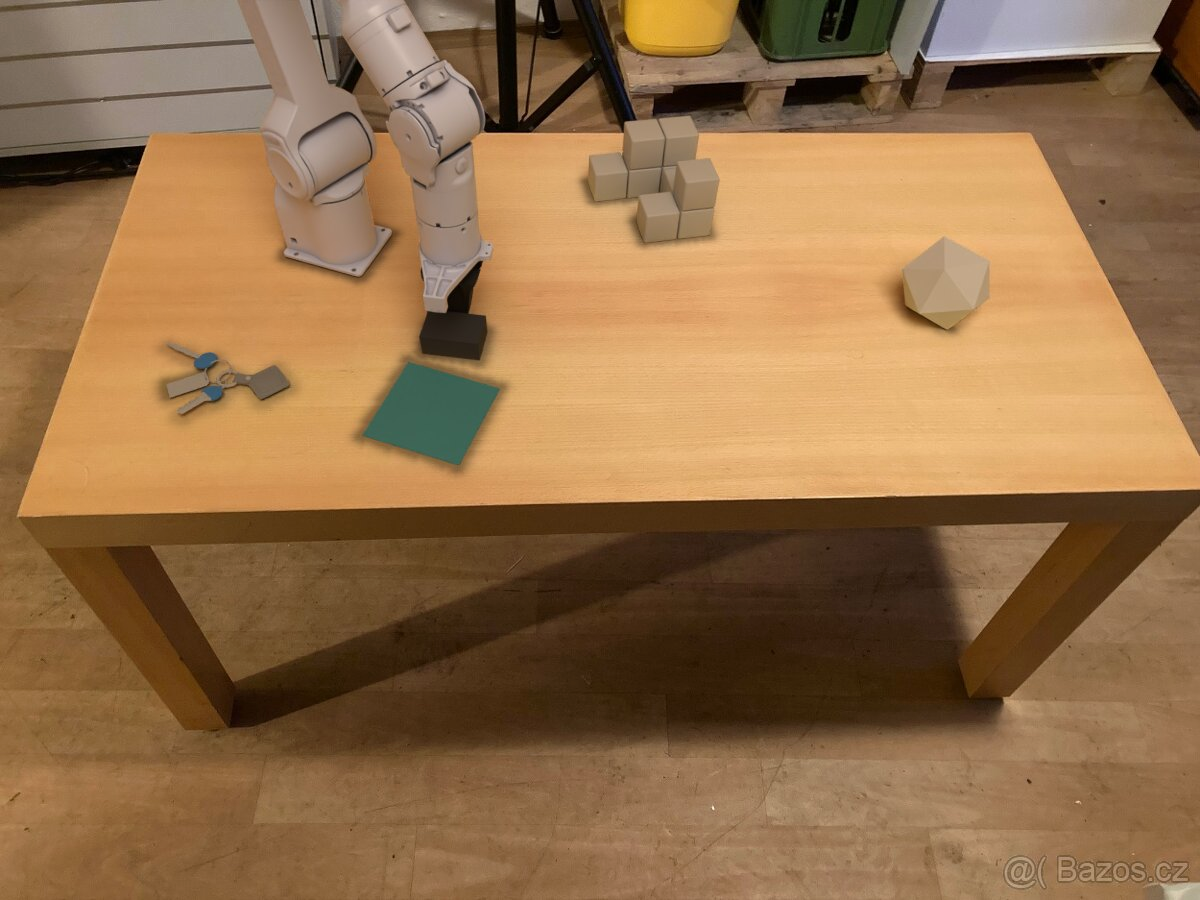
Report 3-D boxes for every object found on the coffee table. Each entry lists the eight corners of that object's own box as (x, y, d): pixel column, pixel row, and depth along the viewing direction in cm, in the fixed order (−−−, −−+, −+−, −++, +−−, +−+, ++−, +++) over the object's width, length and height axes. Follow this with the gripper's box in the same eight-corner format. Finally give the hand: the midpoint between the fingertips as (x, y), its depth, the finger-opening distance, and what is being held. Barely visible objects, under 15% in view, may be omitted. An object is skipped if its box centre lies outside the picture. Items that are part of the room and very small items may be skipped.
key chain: (298, 373, 91) (296, 367, 90) (260, 436, 86) (258, 431, 85) (170, 344, 92) (167, 338, 92) (125, 405, 87) (122, 399, 87)
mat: (362, 435, 87) (362, 435, 87) (408, 362, 92) (408, 361, 92) (459, 465, 85) (459, 465, 85) (500, 388, 91) (500, 388, 91)
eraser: (421, 353, 93) (419, 336, 91) (431, 325, 95) (428, 308, 93) (479, 360, 93) (478, 343, 91) (487, 332, 95) (486, 315, 93)
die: (989, 318, 100) (987, 225, 97) (991, 336, 93) (989, 237, 90) (907, 323, 104) (903, 234, 101) (903, 342, 96) (899, 246, 93)
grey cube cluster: (587, 181, 111) (589, 124, 104) (682, 172, 112) (690, 114, 106) (609, 247, 104) (613, 190, 97) (710, 235, 106) (720, 179, 99)
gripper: (472, 266, 79) (482, 369, 90) (504, 164, 88) (509, 269, 99) (393, 256, 80) (412, 360, 91) (432, 156, 88) (445, 262, 99)
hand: (458, 312), depth 95 cm, fingers closed
